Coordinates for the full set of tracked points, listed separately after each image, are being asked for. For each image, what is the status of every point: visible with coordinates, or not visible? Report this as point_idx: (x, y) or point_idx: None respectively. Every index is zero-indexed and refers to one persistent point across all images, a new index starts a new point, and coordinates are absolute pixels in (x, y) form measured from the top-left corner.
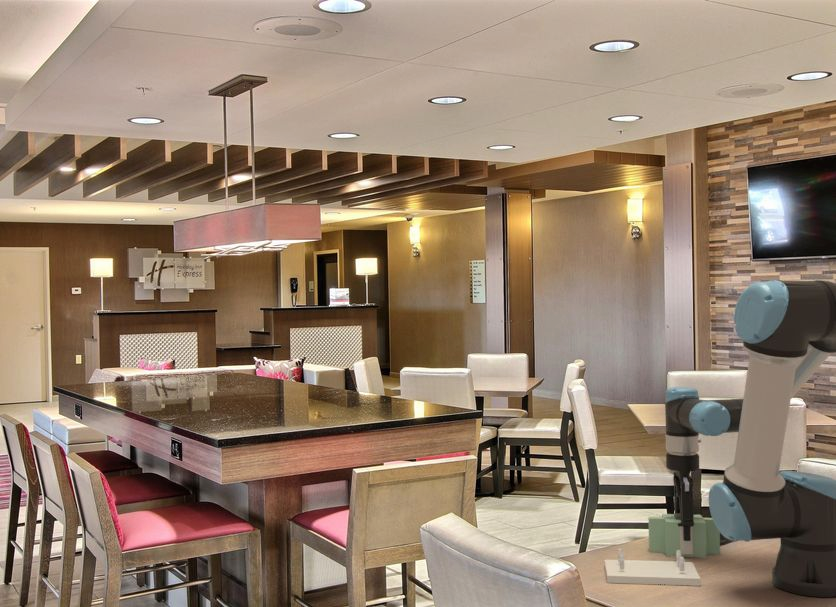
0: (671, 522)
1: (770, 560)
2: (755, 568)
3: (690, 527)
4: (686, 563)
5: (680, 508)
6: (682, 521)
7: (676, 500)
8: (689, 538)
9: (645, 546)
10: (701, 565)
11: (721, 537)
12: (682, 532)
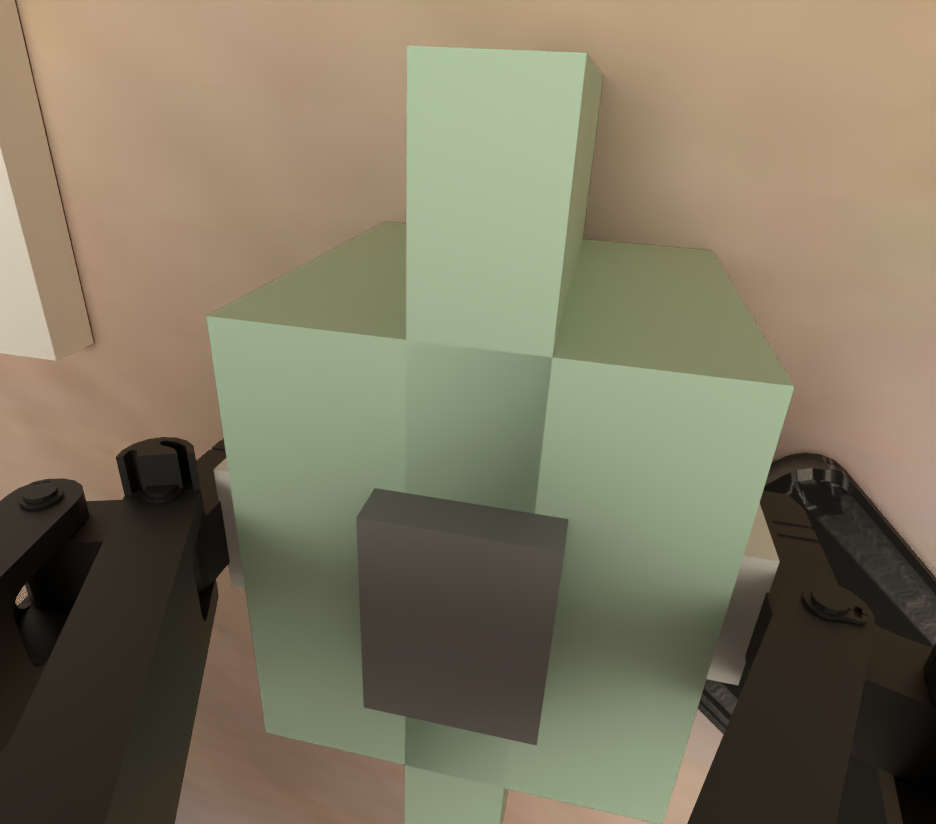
0: (218, 391)
1: (370, 783)
2: (210, 672)
3: (235, 560)
4: (6, 310)
5: (77, 651)
6: (17, 509)
7: (693, 811)
8: None
9: (754, 52)
10: (192, 425)
11: (873, 766)
12: None
